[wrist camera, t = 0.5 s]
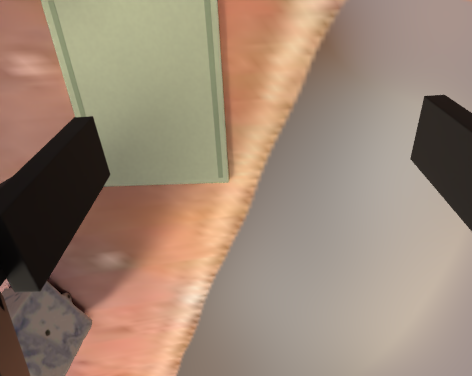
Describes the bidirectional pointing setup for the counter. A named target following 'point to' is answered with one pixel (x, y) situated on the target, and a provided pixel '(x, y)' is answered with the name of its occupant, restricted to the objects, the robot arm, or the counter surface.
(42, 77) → the counter surface
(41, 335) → the incense holder
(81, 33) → the napkin
